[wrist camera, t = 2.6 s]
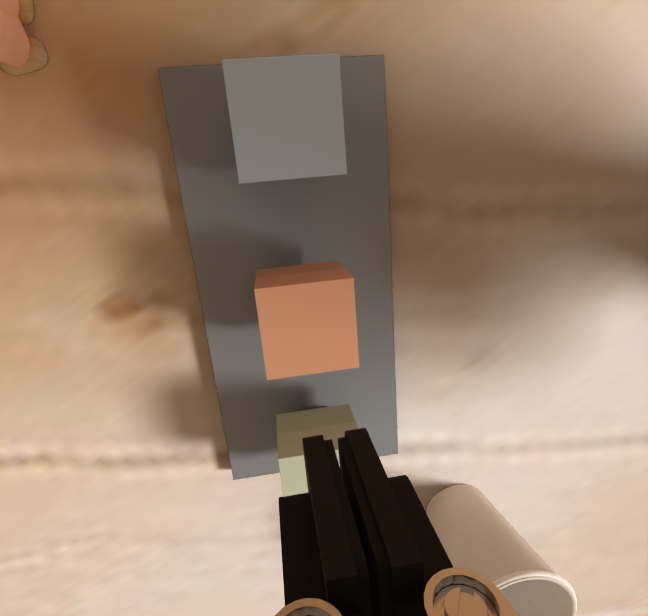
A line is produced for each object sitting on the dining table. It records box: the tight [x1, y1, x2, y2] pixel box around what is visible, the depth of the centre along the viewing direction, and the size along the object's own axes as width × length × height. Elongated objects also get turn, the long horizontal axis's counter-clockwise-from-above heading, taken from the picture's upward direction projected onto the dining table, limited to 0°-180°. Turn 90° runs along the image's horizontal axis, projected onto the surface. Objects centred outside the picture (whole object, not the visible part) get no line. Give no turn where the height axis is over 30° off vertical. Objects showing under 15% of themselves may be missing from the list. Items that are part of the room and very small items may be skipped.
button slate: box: [222, 52, 347, 184], centre depth 20 cm, size 5×5×5 cm
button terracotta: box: [254, 261, 359, 380], centre depth 24 cm, size 5×5×5 cm
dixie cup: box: [426, 484, 577, 616], centre depth 32 cm, size 8×8×10 cm
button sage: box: [276, 404, 358, 497], centre depth 27 cm, size 5×5×5 cm
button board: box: [158, 55, 398, 480], centre depth 27 cm, size 13×28×3 cm, turn 5°
